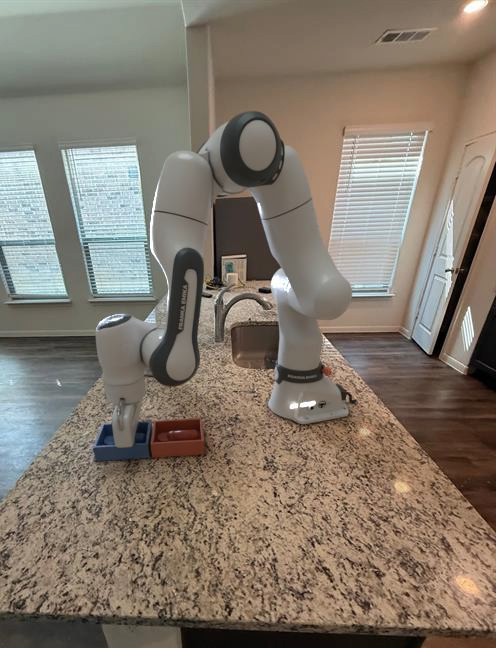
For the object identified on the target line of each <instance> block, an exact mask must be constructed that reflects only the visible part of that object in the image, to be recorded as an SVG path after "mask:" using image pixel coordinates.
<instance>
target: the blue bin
mask: <svg viewBox="0 0 496 648" xmlns="http://www.w3.org/2000/svg"><path fill="white" fill-rule="evenodd" d="M152 430H153V424H152V420H144V421H143V420H142V421H139V430H138V431H137V432H136V433H143V434H145V435H146V443H137V444H133V446H132V447H125V448H118V447H116V445H105V444H104V440H105V439H106V438H107V437H109V436H114V435H113V428H112V422H110V423H109V422H108V423H107V422H106V423H102V424H101V426H100V429H99V430H98V433H97V435H96V439H95V441H94V444H93V447H92V450H93V454H94V458H95V462H106V461H107V462H109V461H122V460H138V459H149V458H151V437H152Z"/></svg>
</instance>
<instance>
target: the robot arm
mask: <svg viewBox="0 0 496 648" xmlns="http://www.w3.org/2000/svg"><path fill="white" fill-rule="evenodd" d="M245 191H247V192H249V194H251V196H252V197H253V199H254V201H255V202H256V205H257V209H258V213H259V216H260V220H261V224H262V227H263V230H264V233H265V237H266V240H267V244H268V247H269V250H270V254H271V255H272V257H273V258H274V259H275V260H276V262H277V264H278V265H279V266H280V268H279V269H278V270H277V271H276V272H275V273H274V274H273V276H272V277H271V281H270V291H271V294H272V297H273V299H274V301H275V306H276V308H275V309H276V314H277V323H278V330H279V332H278V333H279V338H278V339H279V340H278V354H277V359H276V360H275V367H274V374H273V375H274V384H273V387H272V392H271V395H270V398H269V400H268V401H267V406H268V408H269V410H270V411H271V412H272V413H274V414H275V415H277V416H279V417H281V418H285V419H288V420H291V421H293V422H295V423H297V424H300V425H308V424H314V423H319V422H324V421H325V422H326V421H329V420H335V419H339V418H345V417H346V418H347V417H348V416H349V407H348V405H347V404H346V400H347V396H348V401H349V403H351V404H354V403H357V401H358V400H357V399H353V394H352V393H350V392H349V391H347V390H346V389H345V388H344V387H343V386H342V385H341V384H336V383H335V382H333V380H331V379H330V378H329V377H330V376H332V373H333V370H332V369H330V367H328V366H326V365H325V364H324V363H322V362H321V354H322V348H323V343H324V337H323V332H322V330H321V328H320V325H319V321H333V320H336V319H338V318H339V317H342V315H343V314H345V312H346V311H347V310H348V309H349V306H350V305H351V302H352V298H353V289H352V285H351V283H350V282H349V280H348V279H346V278H345V277H344V276H343V274H342V273H341V272H340V270H339V269H338V267H337V265H336V264H335V262H334V260H333V258H332V256H331V254H330V251H329V250H328V248H327V246H326V244H325V241H324V239H323V236H322V233H321V230H320V226H319V221H318V217H317V212H316V208H315V204H314V199H313V195H312V190H311V186H310V183H309V179H308V177H307V173H306V170H305V167H304V164H303V162H302V160H301V158H300V155H299V153H298V151H297V150H296V149H295V148H294V147H293V146H290V145H285V143H284V141H283V139H282V138H281V136H280V133H279V131H278V129H277V127H276V125H275V123H273V121H272V119H270V117H268V115H266V114H265V113H263V112H261V111H256V110H248V111H244V112H241V113H238V114H236V115H234V116H233V117H232V118H231V119H230V120H228V121H227V122H225V123H223V124H222V125H220V126H219V127H217V128H216V130H215V131H214V132H213V133H212V134H211V136H210V137H209V138H208V139H207V140H205V141H204V142H203V143H202V144H201V146H200V147H199V148H198V150H197V151H196V152H195V151H192V150H186V149H185V150H183V149H182V150H177V151H174V152H172V153H171V154H169V155H168V156H167V158H166V159H165V161H164V163H163V166H162V169H161V172H160V174H159V178H158V182H157V186H156V190H155V194H154V199H153V205H152V213H151V220H150V229H149V231H150V233H149V235H150V236H149V237H150V239H149V240H150V250H151V253H152V254H153V256H154V258H155V259H156V261H157V262H158V263H159V265H160V267H161V269H162V271H163V273H164V276H165V278H166V282H167V288H168V291H167V292H168V294H167V305H166V315H165V323H164V324H163V323H153V322H147V321H144V320H141V319H138V318H136V317H134V316H133V315H132V314H130V313H117V314H113V315H110V316H108V317H105V318H104V319H103V320H101V321H99V323H98V324H97V325H96V328H95V345H96V346H95V347H96V353H97V360H98V363H99V365H100V368H101V367H102V368H101V370H102V369H103V374H102V377H101V378H102V383H103V384H102V385H103V388H104V393H105V399H106V401H107V402H108V403H110V404H113V406H114V410H113V412H112V417H111V423H112V428H113V435H114V442H115V445H116V447H118V448H125V447H132V446H133V444H136V443H135V439H134V438H135V434H136V432H137V431H138V430H139V422H140V421H139V419H140V416H141V412H142V411H141V409H142V405H143V401H144V398H145V396H146V394H147V387H146V380H145V375H144V371H145V370H147V369H150V371H151V372H152V374H153V376H152V377H154V379H155V380H156V381H157V383H158V384H160V385H162V386H164V387H168V388H175V387H180V386H182V385H185V384H186V383H188V382H189V381H190V380H192V379H193V378H194V376H195V375H196V374H197V372H198V370H199V368H200V364H201V354H200V348H199V342H198V340H199V339H198V335H199V326H200V325H199V324H200V317H201V307H202V299H203V291H204V281H205V280H204V279H205V263H204V262H205V248H206V241H207V236H208V230H209V223H210V220H211V219H210V218H211V211H212V209H213V206H214V203H215V201H216V199H217V198H223V197H224V198H225V197H227V196H233V195H237V194H240V193H243V192H245Z"/></svg>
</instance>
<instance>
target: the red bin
mask: <svg viewBox="0 0 496 648" xmlns="http://www.w3.org/2000/svg"><path fill="white" fill-rule="evenodd" d="M181 430H196V431H198V433H199V439H198V440H186V441H170V442H158V435H159V434H161V433H164V432H168V433H169V432H171V431H181ZM205 445H206V444H205V434H204V425H203V418H202V417H196V418H195V417H194V418H177V419H176V418H175V419H163V420H162V419H161V420H153V424H152V437H151V451H150V453H151V458H155V459H156V458H167V457H168V458H170V457H184V456H186V457H187V456H200V455H205V454H206V450H205V449H206V448H205Z"/></svg>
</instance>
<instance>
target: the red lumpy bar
mask: <svg viewBox="0 0 496 648" xmlns="http://www.w3.org/2000/svg"><path fill="white" fill-rule="evenodd" d="M198 439H199V433H198V431H196V430H181V431H171V432H169V433H168V432H164V433H161V434H159V435H158V442H170V441H186V440H198Z"/></svg>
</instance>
